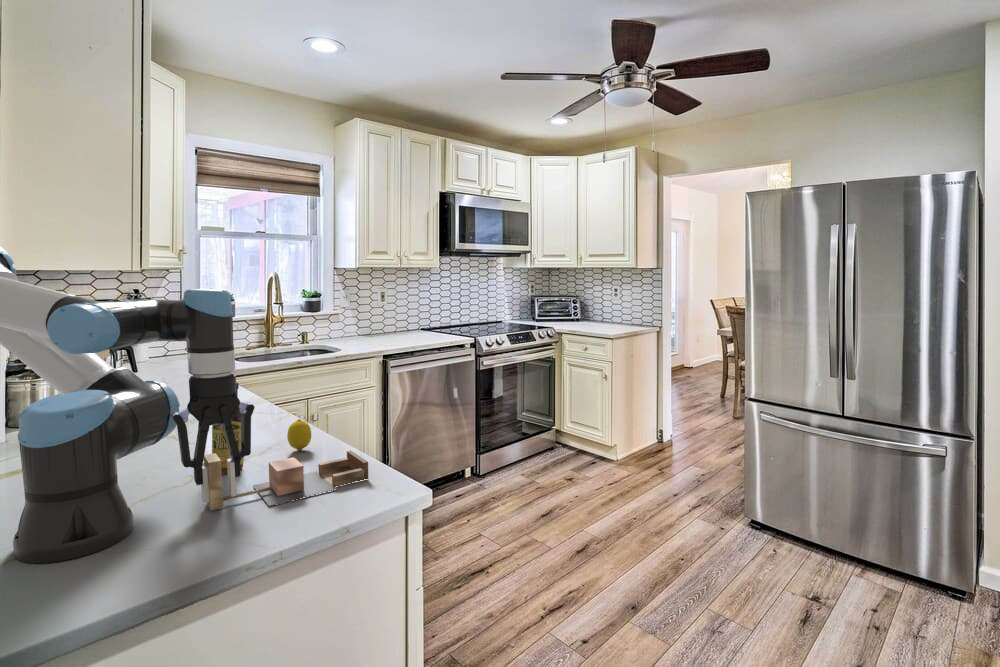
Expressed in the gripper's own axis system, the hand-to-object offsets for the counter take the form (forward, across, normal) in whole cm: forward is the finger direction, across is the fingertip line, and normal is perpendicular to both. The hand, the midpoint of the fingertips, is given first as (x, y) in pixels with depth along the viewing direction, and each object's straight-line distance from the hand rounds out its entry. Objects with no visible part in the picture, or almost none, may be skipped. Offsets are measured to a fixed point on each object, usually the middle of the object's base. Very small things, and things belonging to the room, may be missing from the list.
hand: (219, 496), depth 98 cm
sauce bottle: (+2, -5, -19) cm, 19 cm away
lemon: (+2, -22, -23) cm, 32 cm away
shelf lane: (+2, -17, 0) cm, 18 cm away
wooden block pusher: (+1, -6, 0) cm, 6 cm away
